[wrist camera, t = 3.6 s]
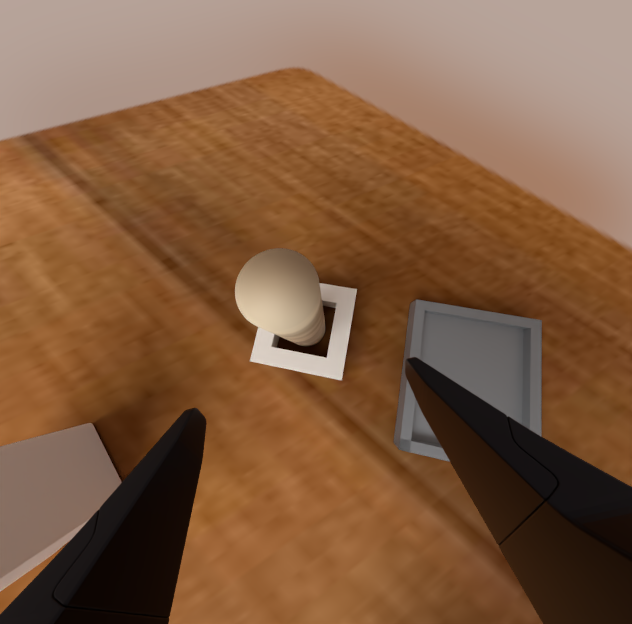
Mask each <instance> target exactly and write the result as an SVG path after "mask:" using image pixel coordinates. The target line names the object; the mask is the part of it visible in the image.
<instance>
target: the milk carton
mask: <svg viewBox="0 0 632 624" xmlns="http://www.w3.org/2000/svg"><path fill="white" fill-rule="evenodd" d="M121 483H122V482H121V480H120V478H119V476H118V474H117V472H116V470H115V468H114V466H113V464H112V462H111V460H110V458H109V456H108V454H107V452H106V450H105V448H104V446H103V444H102V442H101V440H100V438H99V436H98V434H97V432H96V430H95V428H94V426H93V424H92V423H87V424H83V425H79V426H75V427H72V428H68V429H64V430H60V431H57V432H53V433H49V434H45V435H42V436H38V437H34V438H30V439H27V440H23V441H19V442H15V443H12V444H8V445H4V446H0V591H2V590H3V589H5V588H6V587H7V586H9V585H10V584H12V583H13V582H14V581H16V580H17V579H19V578H20V577H22V576H23V575H24V574H26V573H27V572H29V571H30V570H31V569H33V568H34V567H36V566H37V565H39V564H40V563H41V562H43V561H44V560H46V559H47V558H48V557H50V556H51V555H52V554H54V553H55V552H56V551H57V550H59V549H60V548H61V547H62V546H64V545H65V544H66V543H67V542H69V541H70V540H71V539H72V538H73V537H74V536H75V535H76V534H77V533H78V532H79V530H80V529H81V528H82V527H83V526H84V525H85V524H86V523H87V522H88V520H89V519H90V518H91V517H92V516H93V515H94V514H95V512H96V511H97V510H99V509H100V507H101V506H102V505H103V503H104V502H105V501H106V500H107V499H108V498H109V497H110V495H111V494H112V493H113V492H114V491H115V490H116V489H117V487H118V486H119V485H120V484H121Z"/></svg>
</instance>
